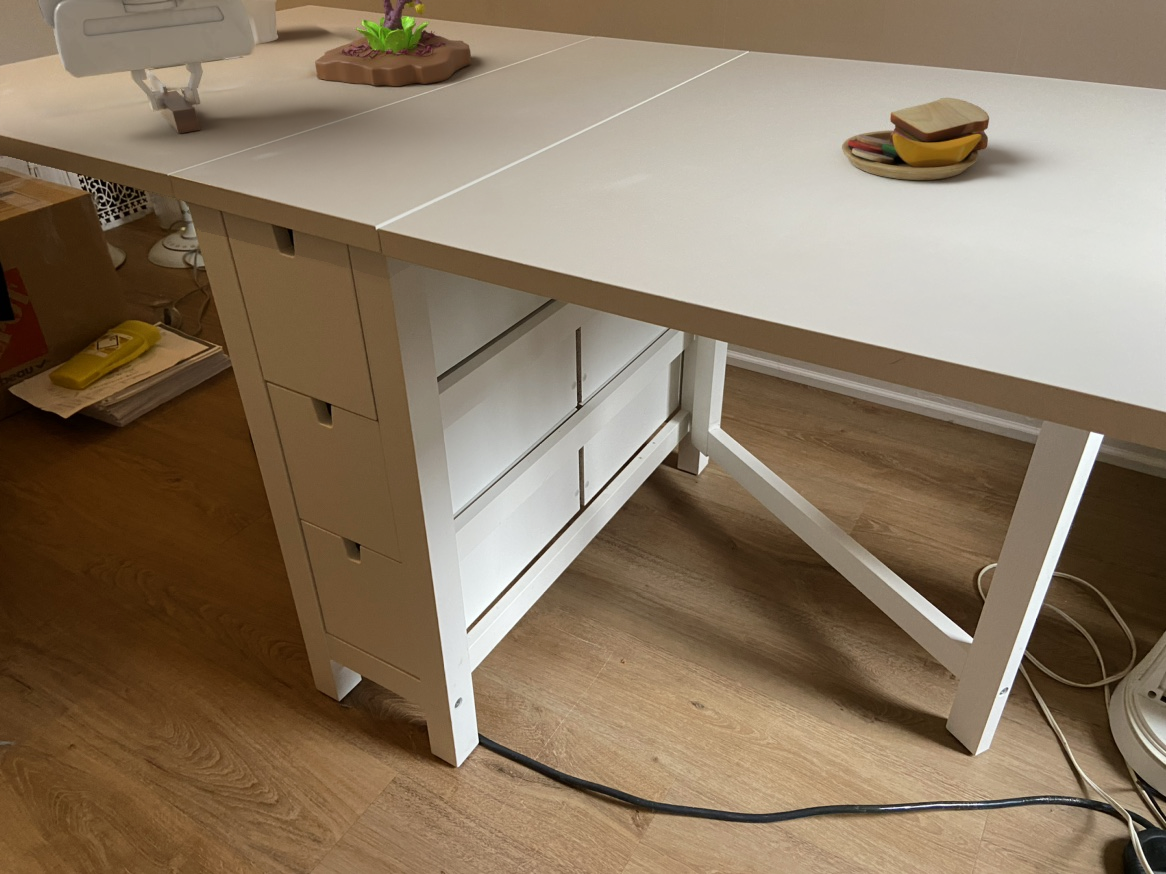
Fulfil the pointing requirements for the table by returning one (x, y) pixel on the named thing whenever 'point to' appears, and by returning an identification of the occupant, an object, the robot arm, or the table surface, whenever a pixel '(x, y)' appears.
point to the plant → (394, 53)
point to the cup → (262, 19)
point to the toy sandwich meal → (923, 142)
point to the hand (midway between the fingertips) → (176, 106)
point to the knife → (176, 108)
